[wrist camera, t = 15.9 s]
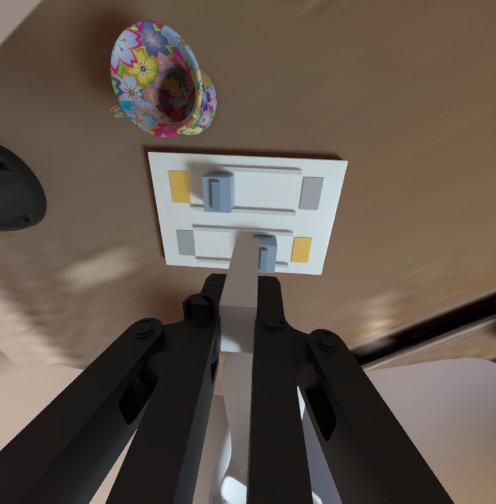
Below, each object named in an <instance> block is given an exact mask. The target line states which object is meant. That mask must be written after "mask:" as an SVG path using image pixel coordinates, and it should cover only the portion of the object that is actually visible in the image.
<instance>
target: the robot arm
mask: <svg viewBox="0 0 496 504" xmlns="http://www.w3.org/2000/svg"><path fill="white" fill-rule="evenodd" d="M45 212H46V198H45V194H44V191H43V189H42V187H41V185H40V183H39V181H38V179H37V178H36V176H35V175H34V173H33V172H32V171H31V170H30V169H29V167H28V166H27V165H26V164H25V163H24V162H23V161H22V160H21V159H19V158H18V157H17V156H16V155H14V154H13V153H12V152H10V151H9V150H7V149H5V148H3V147H1V146H0V231H16V230H21V229H25V228H28V227H30V226H33V225H36V224H37V223H39V222H40V221H41V220H42V219H43V217H44V215H45ZM258 256H259V239H252V238H236V242H235V246H234V250H233V253H232V257H231V261H230V265H229V269H228V273H227V274H213V273H212V274H211V275H210V276H209V277H207V278H206V280H205V283H204V286H203V288H202V291H201V293H199V294H194V295H191V296H189V297H188V298H186V299H185V300H184V302H183V303H182V304H183V311H184V318H185V319H184V320H182V321H180V322H177V323H173V324H167V325H163V324H162V323H161V321H160V320H158V319H156V318H145V319H142V320H139V321H137V322H135V323H134V324H132V325H131V326H130V327H129V328H128V329H127V330H126V331H124V332H123V333H122V334H121V335H120V336H119V337H118V338H117V339H116V340H115V341H114V342H113V343H112V344H111V345H110V346H109V347H108V348H107V349H106V350H105V351H104V352H103V353H102V354H101V355H100V356H99V357H97V358H96V359H95V360H94V361H93V362H92V363H91V364H90V365H89V366H88V367H87V368H86V369H85V370H84V371H83V372H82V373H81V374H80V375H79V376H78V377H77V378H76V379H75V380H74V381H73V382H72V383H70V384H69V386H67V387H66V388H65V389H64V390H63V391H62V392H61V393H60V394H59V395H58V396H57V397H56V398H55V399H54V400H53V401H52V402H51V403H50V404H49V405H48V406H47V407H46V408H45V409H43V411H41V412H40V413H39V414H38V415H37V416H36V417H35V418H34V419H33V420H32V421H31V422H30V423H29V424H28V425H27V426H26V427H25V428H24V429H23V430H22V431H21V432H20V433H19V434H17V435H16V437H14V438H13V439H12V440H11V441H10V442H9V443H8V444H7V445H6V446H5V447H4V448H3V449H2V450H1V451H0V504H89V502H90V501H91V499H92V498H93V496H94V495H95V493H96V492H97V490H98V489H99V487H100V485H101V484H102V482H103V481H104V479H105V478H106V476H107V474H108V473H109V471H110V470H111V468H112V467H113V465H114V464H115V462H116V460H117V459H118V457H119V456H120V454H121V453H122V451H123V450H124V448H125V446H126V445H127V443H128V442H129V440H130V439H131V437H132V436H133V434H134V432H135V431H136V429H137V428H138V429H137V431H136V433H135V436H134V438H133V440H132V443H131V445H130V447H129V449H128V452H127V454H126V456H125V459H124V461H123V463H122V466H121V468H120V470H119V473H118V475H117V478H116V480H115V482H114V484H113V487H112V489H111V491H110V494H109V496H108V499H107V501H106V503H105V504H192V502H193V497H194V492H195V485H196V481H197V476H198V470H199V465H200V460H201V455H202V449H203V444H204V438H205V434H206V428H207V423H208V417H209V412H210V407H211V402H212V397H213V391H214V386H215V381H216V376H217V370H218V365H219V351H220V346H221V351H228V352H241V353H253V362H252V375H251V376H252V381H251V404H250V426H249V448H248V470H247V492H246V504H314V503H313V496H312V489H311V482H310V475H309V468H308V461H307V454H306V447H305V440H304V433H303V426H302V418H301V411H300V404H299V397H298V390H297V386H298V387H299V390H300V393H301V395H302V398H303V400H304V403H305V406H306V408H307V411H308V414H309V416H310V419H311V422H312V424H313V427H314V430H315V432H316V435H317V437H318V440H319V443H320V445H321V448H322V451H323V453H324V456H325V459H326V461H327V464H328V467H329V469H330V472H331V474H332V477H333V480H334V482H335V485H336V487H337V490H338V493H339V496H340V498H341V501H342V504H454V502H453V501H452V499H451V498H450V496H449V495H448V493H447V492H446V491H445V489H444V488H443V486H442V485H441V483H440V482H439V480H438V479H437V477H436V476H435V475H434V473H433V472H432V470H431V469H430V467H429V466H428V464H427V463H426V461H425V460H424V458H423V457H422V456H421V454H420V453H419V451H418V450H417V448H416V447H415V445H414V444H413V442H412V441H411V440H410V438H409V436H408V435H407V434H406V432H405V431H404V429H403V428H402V426H401V425H400V423H399V422H398V421H397V419H396V418H395V416H394V415H393V413H392V412H391V410H390V409H389V407H388V406H387V405H386V403H385V402H384V400H383V399H382V397H381V396H380V394H379V393H378V391H377V390H376V388H375V387H374V385H373V384H372V382H371V381H370V380H369V378H368V377H367V375H366V374H365V372H364V371H363V369H362V368H361V366H360V365H359V363H358V362H357V361H356V359H355V358H354V356H353V355H352V353H351V352H350V350H349V349H348V347H347V346H346V344H345V343H344V342H343V340H342V339H341V338H340V337H339V336H338V335H336V334H335V333H333V332H331V331H328V330H325V329H317V330H314V331H312V332H311V333H310V334H306V333H303V332H301V331H298V330H296V329H294V328H293V327H291V326H290V325H289V324H288V323H287V321H286V320H285V317H284V310H283V302H282V296H281V295H282V294H281V286H280V282H279V281H278V279H277V278H276V277H271V276H258Z"/></svg>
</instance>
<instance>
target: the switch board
mask: <svg viewBox="0 0 496 504" xmlns="http://www.w3.org/2000/svg"><path fill="white" fill-rule="evenodd" d="M148 156H149V162H150V168H151V174H152V180H153V186H154V192H155V198H156V204H157V210H158V216H159V222H160V228H161V234H162V240H163V246H164V252H165V258H166V264H167V265H180V266H195V267H210V268H225V269H229V265H230V261H231V257H232V253H233V250H234V246H235V242H236V238H252V239H253V235H261V236H276V239H277V255H276V264H275V272H286V273H301V274H317V275H321V273H322V268H323V264H324V260H325V256H326V251H327V247H328V243H329V239H330V235H331V230H332V226H333V222H334V218H335V213H336V209H337V205H338V201H339V197H340V192H341V188H342V184H343V180H344V175H345V171H346V167H347V163H348V161H345V160H331V159H309V158H286V157H264V156H241V155H219V154H196V153H174V152H148ZM207 173H225V174H234V207H233V209H232V212H231V213H218V212H204V202H203V186H202V176H204V175H205V174H207Z"/></svg>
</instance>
